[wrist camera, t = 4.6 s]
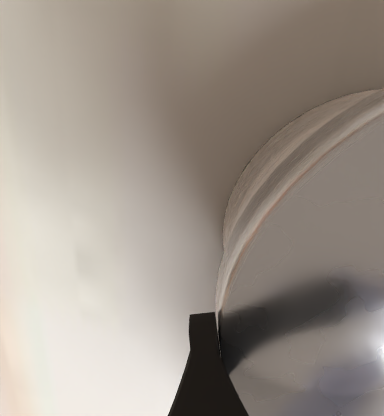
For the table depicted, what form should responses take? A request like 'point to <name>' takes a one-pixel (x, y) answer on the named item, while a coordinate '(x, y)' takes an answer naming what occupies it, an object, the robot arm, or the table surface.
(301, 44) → the table surface
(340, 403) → the cooker lid
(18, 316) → the table surface
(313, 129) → the cooker pot
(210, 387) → the robot arm
